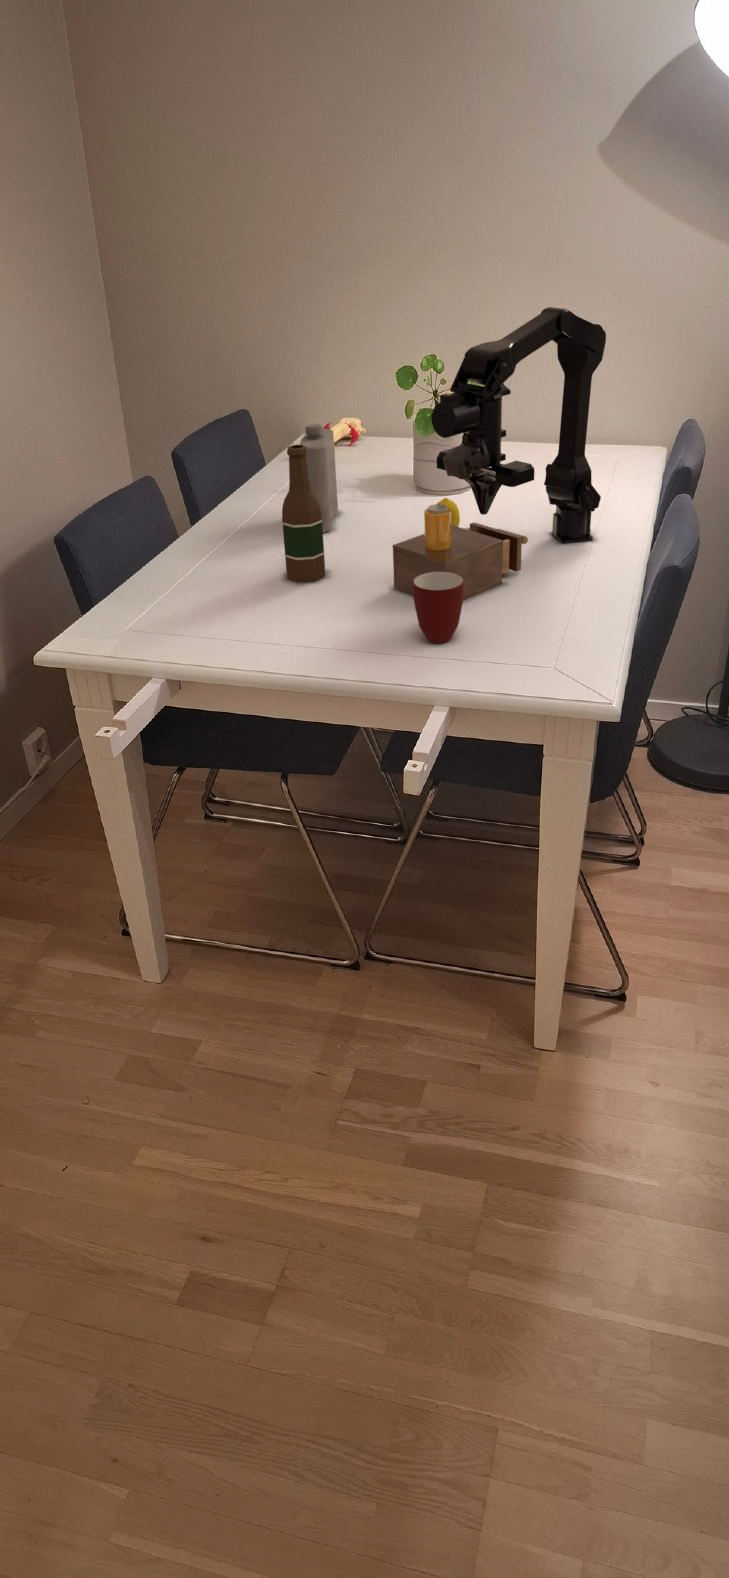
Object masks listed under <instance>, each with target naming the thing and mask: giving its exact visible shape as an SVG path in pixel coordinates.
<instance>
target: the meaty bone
mask: <svg viewBox="0 0 729 1578" xmlns="http://www.w3.org/2000/svg"><path fill="white" fill-rule="evenodd" d="M332 423H333V421H330V422H328V423H326V424H325V425H323V429H330V430H332V431H333V434H334V444H335V443H336V442H337V441H339V440H341V439H342V438H351V440H350V443H348V446H351V445H353V444H354V443H356V441H358V439H359V438H360V437H362V435H364V434H365V433H366V431H367V430H366V428H363V427H362V426H363V422H362V420H361V419H360V418H357V417H343V418H342V419H340V420H339V421H338V422H337V423H338V424H334V425H333V426H332V427H330V424H332Z"/></svg>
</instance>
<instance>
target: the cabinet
mask: <svg viewBox="0 0 729 1578" xmlns="http://www.w3.org/2000/svg"><path fill="white" fill-rule="evenodd" d="M392 567H393V589H394V590H397V591H399V592H403V593H405V594H408V595H411V596H413V580H414V579H415V578H416V577H417V576H419V575H422V574H425V573H430V572H449V573H454V574H457V575H459V576H461V577H462V578H463V581H464V597H463V601H465V600H468V599H470V598H472V597H475V596H477V595H480V594H483V593H484V592H486V591H489V590H491V589H495V588H496V587H498V586H501V585H503V574H502V568H503V540H500V539H496V538H493V537H490V536H487V535H483V534H480V533H477V532H473V531H470V530H467V529H465V528H463V527H460V526H458V527H457V526H453V525H451V547H450V548H449V549H446V550H441V551H433V550H428V549H426V548H425V533H423V534H420V535H417V536H415V537H412V538H409V539H405V540H403V541H400V542H397V543H395V544H392Z"/></svg>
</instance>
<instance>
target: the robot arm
mask: <svg viewBox="0 0 729 1578" xmlns="http://www.w3.org/2000/svg"><path fill="white" fill-rule="evenodd" d="M550 342H553V343H554V344H555V345H556V349H557V351H556V352H557V353H556V354H557V360H558V363H559V365H560V367H561V369H562V371H563V374H564V375H563V376H564V379H563V390H562V402H561V415H560V426H559V436H558V437H559V439H558V451H557V455H556V456H555V458H554V459H553V461H552V462H551V463H547V465H546V466H545V478H544V483H543V485H544V486H545V492H546V494H547V497H548V502H549V505H551V506H552V505H553V506H555V512H554V513H553V514H552V528H551V529H552V530H551V534H552V535H553V536H554V537H555V538H556V539H557V540H558V541H559V542H560V543H563V544H564V543H574V542H585V541H592V540H593V539H594V537H593V536H592V534H591V524H592V512H595V511H596V509H598V508H599V506H600V502H601V499H602V496H601V494H600V493H599V492H598V491H597V490H596V488H595V486H594V485H593V484H592V483H593V482H592V469H591V466H590V464H589V462H588V459H587V458H586V457H587V456H586V444H587V433H588V424H589V412H590V401H591V391H592V381H593V375H594V373H595V372H596V370H597V369H598V367H599V366H600V364H601V363H602V361H603V358H604V353H605V346H606V343H607V333H606V330H604V328H603V326H602V325H601V324H599V323H592V322H591V321H589V320H586V319H584V318H582V317H580V316H579V315H576V314H574V312H572V311H570V310H569V309H568V308H561V307H554V306H549V307H546V308H543V310H541V312H540V313H539V314H537V315H536V316H534V317H533V318H532V319H530V320H528V321H527V322H526V323H524V324H522V325H521V326H519V327H517V328H516V329H514V330H512V332H510V333H508V334H507V335H505V336H504V337H502V338H501V339H498V340H493V341H487V342H482V343H480V344H477V345H474V346H471V347H470V348H468V350H467V351H466V352H465V353H464V357H463V359H462V361H461V364H460V366H459V368H458V371H457V372H456V375H455V377H454V380H453V382H452V384H451V386H450V389H449V391H450V393H443V394H440V395H439V402H438V403H436V404H435V406H434V407H433V409H432V413H431V414H430V420H431V426H432V428H433V430H434V432H435V434H437V435H438V436H439V437H440V438H442V439H443V438H444V439H447V438H448V439H449V438H452V437H454V436H458V435H461V434H463V435H462V436H461V443H460V444H459V445H457V446H455V447H450V448H448V449H444V450H441V451H440V452H439V453H438V454H437V456H436V469H439V470H442V471H445V472H446V476H447V477H454V478H457V479H459V480H464V482H466V483H467V484H468V485H469V487H470V489H471V491H472V493H473V496H474V500H475V502H476V506H477V508H478V511H479V514H480V515H484V516H485V515H488V514H489V510H491V509H490V508H491V507H492V505H493V502H494V500H495V498H496V497H497V494H498V492H499V490H500V489H501V487H502V486H504V487H508V488H515V487H518V486H522V485H523V484H527V483H530V482H533V481H535V467H534V466H533V465H532V463H529V462H524V461H520V460H513V461H511V462H508V463H501V462H503V461H506V459H507V457H506V456H507V454H506V453H503V452H502V438H505V437H507V430H506V429H502V421H503V420H502V418H503V415H502V414H503V397H505V396H509V395H511V393H512V390H511V389H510V388H509V387H507V386H506V385H505V383H506V381H507V380H508V379H510V377H512V375H514V373H515V371H516V367H517V365H518V364H519V363H520V362H521V361H523V360H524V359H526V358H527V357H529V356H530V355H532V354H533V353H535V352H536V351H537V350H539V349H541V348H543V347H544V346H545V345H547V344H548V343H550Z"/></svg>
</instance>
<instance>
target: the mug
mask: <svg viewBox="0 0 729 1578" xmlns="http://www.w3.org/2000/svg"><path fill="white" fill-rule="evenodd" d="M412 596H413V603H414V607H415V613H416V619H417V623H418V626H419V628H420V630H421V633H422V634H423V636H424V637H425V639H426V641H428V642H429V643H433V644H444V643H448V642H449V641H451V640H452V638H453V636H454V634H455V632H456V631H457V629H458V626H459V623H460V619H461V613H462V608H463V603H464V600H463V597H464V581H463V578H462V577H461V576H459V575H457V574H454V573H449V572H430V573H425V574H422V575H419V576H417V577H416V578H415V579H414V580H413V595H412Z"/></svg>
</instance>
